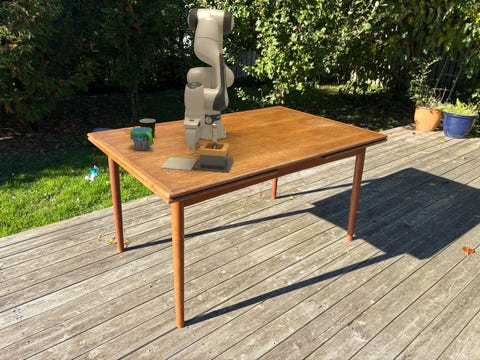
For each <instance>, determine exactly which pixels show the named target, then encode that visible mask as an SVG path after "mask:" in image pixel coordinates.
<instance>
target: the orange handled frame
mask: <svg viewBox="0 0 480 360" xmlns="http://www.w3.org/2000/svg"><path fill="white" fill-rule="evenodd" d="M195 147H196V151H195V152H198V155H199V156H200V155H213V156H226V154H227V152H228V153H229V149H230V143H228V142H218V141H217V149H207V148H212V141H204V142H203V143H201V144H200V143H199V144H196V145H195ZM221 149H222V150H221ZM189 150H190V151H191V146H189ZM191 152H192V151H191Z"/></svg>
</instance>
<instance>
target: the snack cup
mask: <svg viewBox="0 0 480 360" xmlns="http://www.w3.org/2000/svg"><path fill="white" fill-rule="evenodd" d="M129 133H130V137H129V138H130V140H131V141H132V142H133V146H134V149H135V150H137V151H147V150H149V149H150V148H151V146H153V145H154V144H155V143H154V139H153V137H152V134H151V133H152V129H150V128H146V127H140V126H139V127H134V128H131V129H130V130H129Z"/></svg>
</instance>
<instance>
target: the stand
mask: <svg viewBox="0 0 480 360" xmlns="http://www.w3.org/2000/svg"><path fill="white" fill-rule="evenodd" d="M211 126H212V140H211V142H212V148H207V149H217V142H218V139H217V126H218V124H217V123H212V124H211ZM221 150H222V149H221ZM228 153H229V151H228V152H227V154H226V156H213V155H200V154H199V159H198V161H197V162H196V164H195V165H194V167H193V171H200V172H212V173H215V172H216V173H224V174H225V173H226V174H229V172H230V171H231V168H232V165H233V162H234V158H230V157H229V154H228Z"/></svg>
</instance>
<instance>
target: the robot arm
mask: <svg viewBox="0 0 480 360" xmlns="http://www.w3.org/2000/svg"><path fill="white" fill-rule="evenodd" d="M187 24H188V28H189V29H190V30H191V31H192V32H195V35H194V41H193V42H194V43H193V49H194V50H193V51H194V54H195V56H196V57H197V58H198V59H199V60H200V61H202V62H203V63H206V64H208V65H210V66H211V67H208V66H206V67H202V66H201V67H200V66H199V67H193V68H190V69H189V70H188V72H187V75H186V80H187V83H186V85H185V89H184V106H185V112H184V122H183V123H182V125H183V129H184V138H185V144H186V146H189V147H190V146H191V152H192V153H194V152H197V151H196V147H195V145H196V144H200V139H202V140H207V141H209V140H211V141H212V126H211V124H212V123H217V124H218V126H217V140H220V139H226V138H227V130H226V129H225V128H224V124H223V120H222V111H224V110H225V109H227V108H228V105H229V95H228V88H229V87H231V86H232V85H233V83H234V81H235V75H234V72H233V70H231V68H229V67H228V66H227V64H226V61H225V57H224V55H223V45H224V44H223V43H224V42H223V41H224V38H223V37H224V35H229V34H231V32H232V30H233V28H234V26H235V20H234V17H233V14H232V12H230V11H227V10H221V9H216V8H198V7H194V8H192V9H191V10H190V11H189V13H188V16H187Z"/></svg>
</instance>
